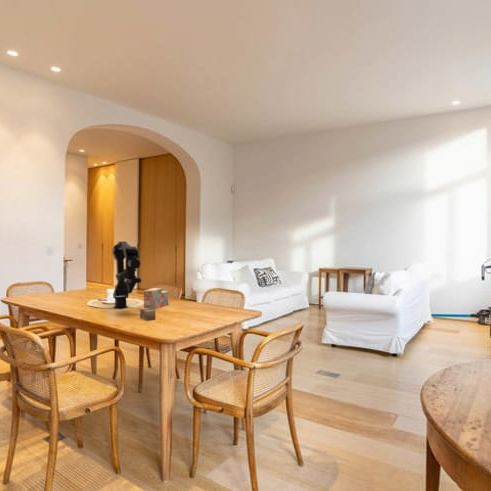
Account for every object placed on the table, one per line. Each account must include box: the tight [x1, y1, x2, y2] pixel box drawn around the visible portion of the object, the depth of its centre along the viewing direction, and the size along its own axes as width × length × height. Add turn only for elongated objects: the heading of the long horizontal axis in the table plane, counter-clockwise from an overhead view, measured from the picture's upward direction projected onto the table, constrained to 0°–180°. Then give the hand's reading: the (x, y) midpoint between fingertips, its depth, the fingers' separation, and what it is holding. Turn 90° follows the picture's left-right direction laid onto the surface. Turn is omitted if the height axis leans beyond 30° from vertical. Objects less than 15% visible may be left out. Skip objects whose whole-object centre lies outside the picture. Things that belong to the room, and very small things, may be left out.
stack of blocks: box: [143, 287, 169, 310], centre depth 258 cm, size 21×6×12 cm, turn 163°
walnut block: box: [139, 307, 156, 322], centre depth 221 cm, size 5×5×10 cm
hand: (130, 293), depth 235 cm, fingers closed
